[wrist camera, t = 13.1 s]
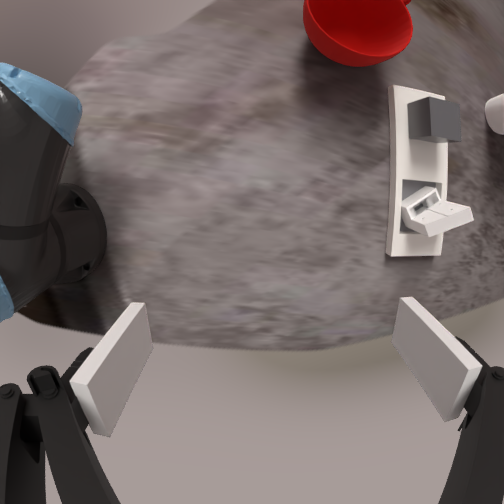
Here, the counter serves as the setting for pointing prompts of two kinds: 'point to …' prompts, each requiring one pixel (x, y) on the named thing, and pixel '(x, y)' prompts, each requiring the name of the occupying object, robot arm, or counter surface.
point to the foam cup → (495, 114)
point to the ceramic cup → (358, 29)
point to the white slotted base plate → (417, 161)
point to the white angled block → (433, 213)
